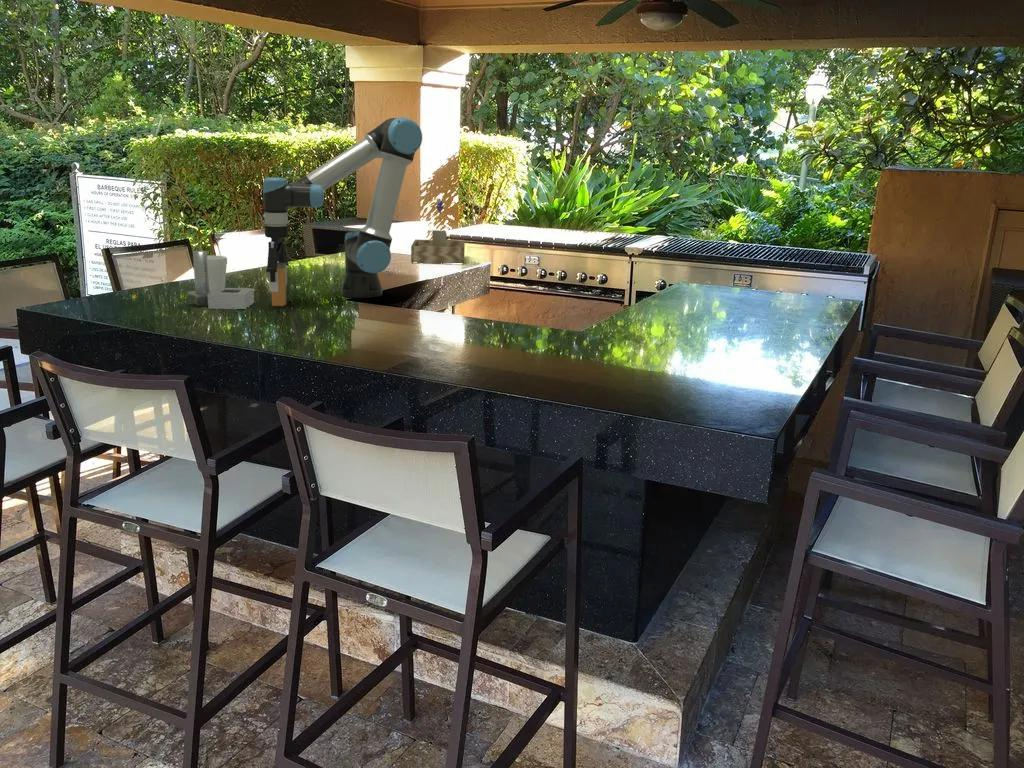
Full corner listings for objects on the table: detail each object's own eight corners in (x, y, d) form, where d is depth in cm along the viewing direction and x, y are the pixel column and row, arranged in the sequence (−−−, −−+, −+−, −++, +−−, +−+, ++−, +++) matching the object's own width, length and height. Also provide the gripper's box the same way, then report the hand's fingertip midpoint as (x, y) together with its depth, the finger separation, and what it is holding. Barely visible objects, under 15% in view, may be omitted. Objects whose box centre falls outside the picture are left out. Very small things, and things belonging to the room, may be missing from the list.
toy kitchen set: (464, 259, 419) (465, 228, 415) (455, 264, 403) (455, 231, 399) (428, 257, 423) (429, 226, 419) (417, 261, 407) (418, 229, 403)
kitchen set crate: (464, 257, 426) (464, 241, 424) (463, 264, 401) (463, 247, 399) (415, 255, 425) (415, 239, 423) (411, 263, 400) (411, 246, 398)
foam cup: (223, 296, 305) (221, 259, 302) (197, 295, 305) (195, 258, 302) (232, 291, 314) (230, 256, 311) (207, 290, 314) (204, 255, 311)
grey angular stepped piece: (262, 296, 307) (260, 246, 302) (245, 309, 284) (242, 255, 279) (204, 295, 306) (201, 244, 301) (182, 307, 283) (178, 253, 278)
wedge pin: (287, 303, 296) (286, 262, 292) (284, 306, 291) (283, 264, 288) (273, 303, 296) (272, 262, 292) (270, 306, 291) (268, 264, 287)
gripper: (273, 221, 298) (275, 281, 304) (255, 228, 274) (258, 294, 280) (295, 221, 298) (297, 282, 304) (279, 229, 274) (281, 294, 280)
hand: (278, 288), depth 292 cm, fingers open, 13 cm apart
